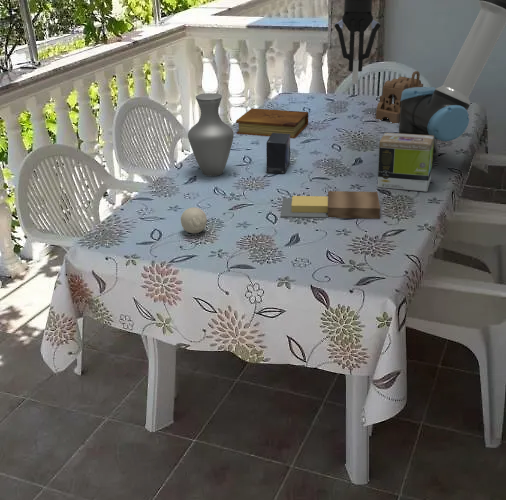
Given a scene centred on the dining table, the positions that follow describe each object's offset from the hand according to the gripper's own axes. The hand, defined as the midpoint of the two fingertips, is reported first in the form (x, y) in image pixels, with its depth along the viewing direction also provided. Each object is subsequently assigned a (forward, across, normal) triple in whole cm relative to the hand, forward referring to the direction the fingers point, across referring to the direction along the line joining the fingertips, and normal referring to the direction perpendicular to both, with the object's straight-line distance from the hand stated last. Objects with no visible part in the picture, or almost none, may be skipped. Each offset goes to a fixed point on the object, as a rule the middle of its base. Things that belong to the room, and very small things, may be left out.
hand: (354, 82), depth 200 cm
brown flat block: (+30, 0, -22) cm, 38 cm away
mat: (+30, -14, -22) cm, 40 cm away
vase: (+31, -44, +6) cm, 54 cm away
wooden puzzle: (+31, +22, +74) cm, 83 cm away
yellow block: (+30, -12, -22) cm, 39 cm away
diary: (+31, -28, +55) cm, 69 cm away
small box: (+31, -23, +11) cm, 40 cm away
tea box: (+31, +16, -2) cm, 35 cm away
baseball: (+31, -42, -39) cm, 65 cm away
